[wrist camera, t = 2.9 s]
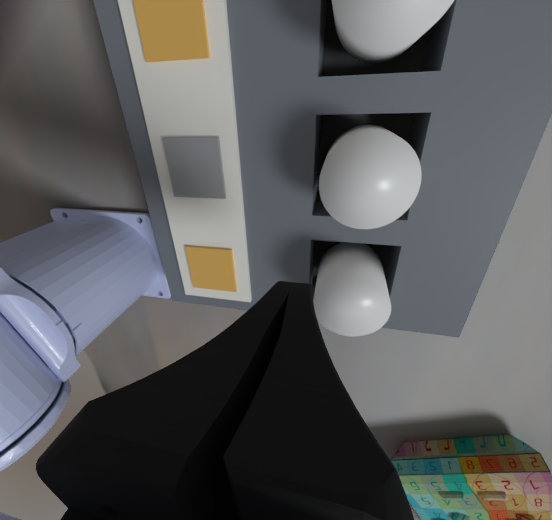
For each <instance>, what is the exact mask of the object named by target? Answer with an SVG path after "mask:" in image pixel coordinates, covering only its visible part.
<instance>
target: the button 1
mask: <svg viewBox="0 0 552 520" xmlns="http://www.w3.org/2000/svg"><path fill="white" fill-rule="evenodd" d="M313 303H314V309H315V314H316V318H317V319H318V321H319V322H320V323H321V324H322V325H323V326H324V327H325V328H327V329H328V330H330V331H332V332H334V333H337V334H340V335H344V336H363V335H368V334H371V333H373V332H375V331H377V330H379V329H380V328H381V327H382V326H383V325H384V324H385V323H386V322H387V321H388V319H389V317H390V314H391V302H390V297H389V293H388V288H387V284H386V279H385V275H384V271H383V266H382V262H381V259H380V257H379V255H378V254H377V253H376V252H375V251H374V250H373V249H372V248H370V247H369V246H367V245H365V244H362V243H350V242H343V243H339V244H336V245H334V246H332V247H331V248H329V249H328V250H327V251H326V252H325V253H324V254H323V256H322V258H321V260H320V263H319V269H318V275H317V281H316V287H315V293H314V298H313Z"/></svg>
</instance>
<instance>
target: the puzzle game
mask: <svg viewBox="0 0 552 520" xmlns="http://www.w3.org/2000/svg"><path fill="white" fill-rule="evenodd" d="M391 462H392V463H393V465H394V466H395V468H396V470H397V472H398V475H399V477H400V480H401V483H402V485H403V488H404V491H405V493H406V496H407V499H408V501H409V502H410V504H411V505H412V507H413V508H414V510H415V511H416V512H417V514H418V515H419V517H420V518H421V520H552V475H551V472H550V470H549V468H548V466H547V464H546V463H545V461H544V459H543V457H542V455H541V454H540V453H539V452H538V451H536V450H535V449H533V448H532V447H530V446H529V445H527V444H526V443H524V442H522V441H521V440H519V439H517V438H515V437H514V436H512V435H510V434H508V435H495V436H482V437H468V438H455V439H442V440H429V441H416V442H404V443H403V444H402V445H401V447H400V448H399V449H398V451H397V452H396V453H395V455H394V456H393V458H392V459H391Z"/></svg>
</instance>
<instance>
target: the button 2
mask: <svg viewBox="0 0 552 520" xmlns="http://www.w3.org/2000/svg"><path fill="white" fill-rule="evenodd" d="M453 2H454V0H332V6H333V13H334V20H335V27H336V32H337V35H338V38H339V40H340V42H341V44H342V46H343V47H344V49H345V50H346V51H347V52H348V53H349V54H350V55H351V56H352V57H354V58H356V59H357V60H359V61H362V62H366V63H382V62H385V61H389V60H391V59H393V58H395V57H397V56H399V55H400V54H402V53H403V52H404V51H406V50H407V49H408V48H409V47H410V46H411V45H412V44H413V43H415V42H416V41H417V40H418V39H419V38H420V37H421V36H422V35H423V34H424V33H426V32H427V31H428V30H429V29H430V28H431V27H432V26H433V25H434V24H435V23H436V22H437V21H438V20H439V19H440V18H441V17H442V16H443V15H444V14H445V13H446V11H447V10H448V9H449V7H450V6H451V5H452V3H453Z"/></svg>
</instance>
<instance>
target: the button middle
mask: <svg viewBox="0 0 552 520" xmlns="http://www.w3.org/2000/svg"><path fill="white" fill-rule="evenodd" d="M421 174H422V172H421V165H420V162H419V159H418V156H417V154H416V152H415V151H414V149H413V148H412V147H411V146H410V145H409V144H408V143H407V142H406V141H405V140H403V139H402V138H401V137H399V136H397V135H396V134H394V133H392V132H390V131H389V130H387V129H385V128H383V127H381V126H377V125H369V124H367V125H360V126H356V127H353V128H351V129H349V130H347V131H346V132H344V133H343V134H341V135H340V136H339V137H338V138H337V139H336V140H335V141H334V143H333V144H332V146H331V148H330V149H329V151H328V154H327V157H326V159H325V162H324V165H323V167H322V170H321V174H320V178H319V192H320V197H321V200H322V203H323V205H324V207H325V209H326V210H327V212H328V213H329V214H330V215H331V216H332V217H333V218H334V219H335V220H337V221H338V222H339V223H341V224H343V225H345V226H348V227H351V228H355V229H374V228H379V227H382V226H385V225H387V224H389V223H392V222H393V221H395V220H396V219H398V218H399V217H400V216H402V215H403V214H404V213H405V212H406V211H407V210H408V209H409V208H410V206H411V205H412V204H413V202H414V200H415V199H416V196H417V194H418V192H419V189H420V185H421Z"/></svg>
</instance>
